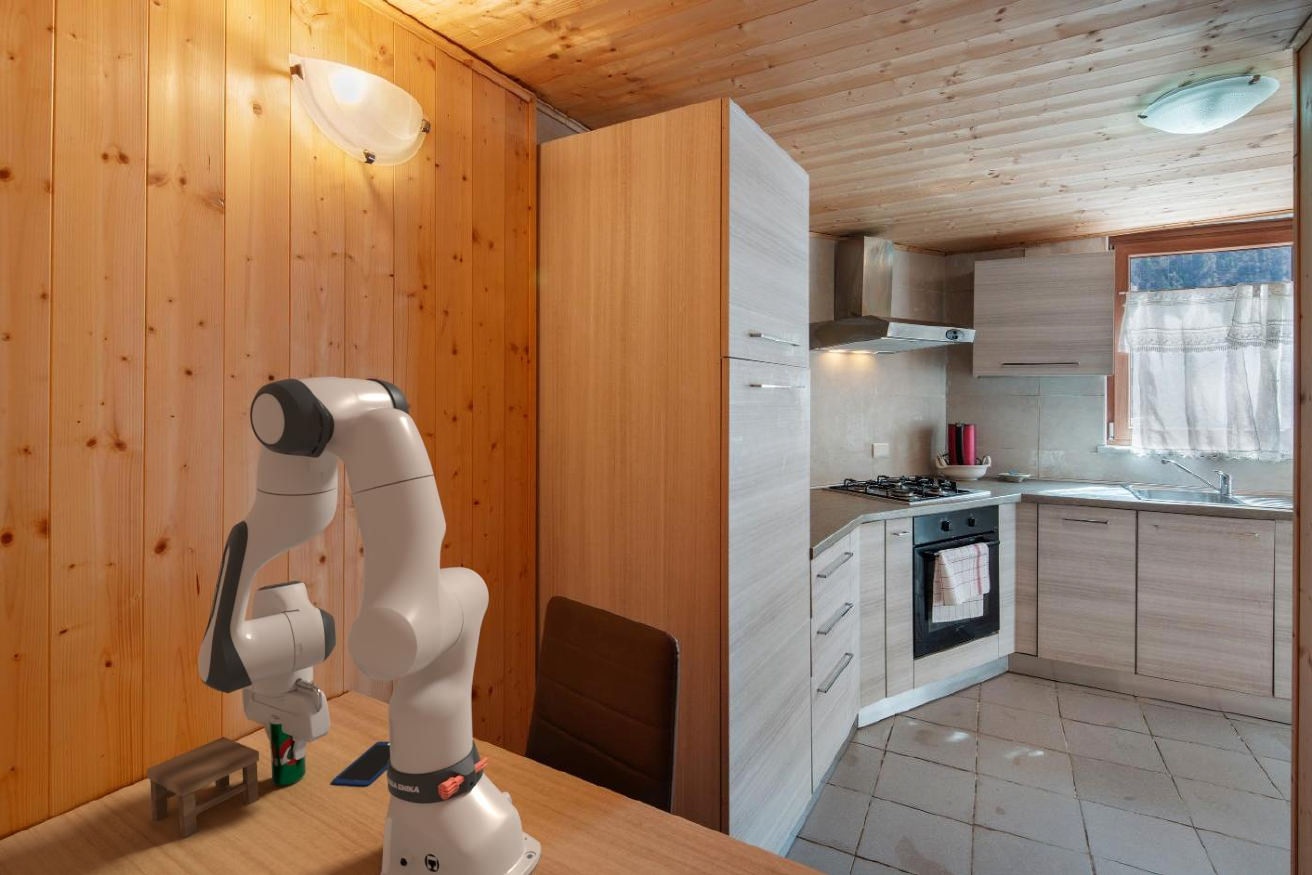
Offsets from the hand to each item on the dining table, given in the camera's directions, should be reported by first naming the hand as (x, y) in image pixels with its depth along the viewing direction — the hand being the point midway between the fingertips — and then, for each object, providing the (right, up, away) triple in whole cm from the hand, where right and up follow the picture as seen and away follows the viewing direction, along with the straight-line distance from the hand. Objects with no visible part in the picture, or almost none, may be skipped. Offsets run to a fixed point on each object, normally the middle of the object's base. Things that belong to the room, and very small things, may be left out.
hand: (287, 753), depth 107 cm
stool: (-9, -5, -8) cm, 13 cm away
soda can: (0, -5, 0) cm, 5 cm away
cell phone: (+13, -5, +4) cm, 14 cm away
